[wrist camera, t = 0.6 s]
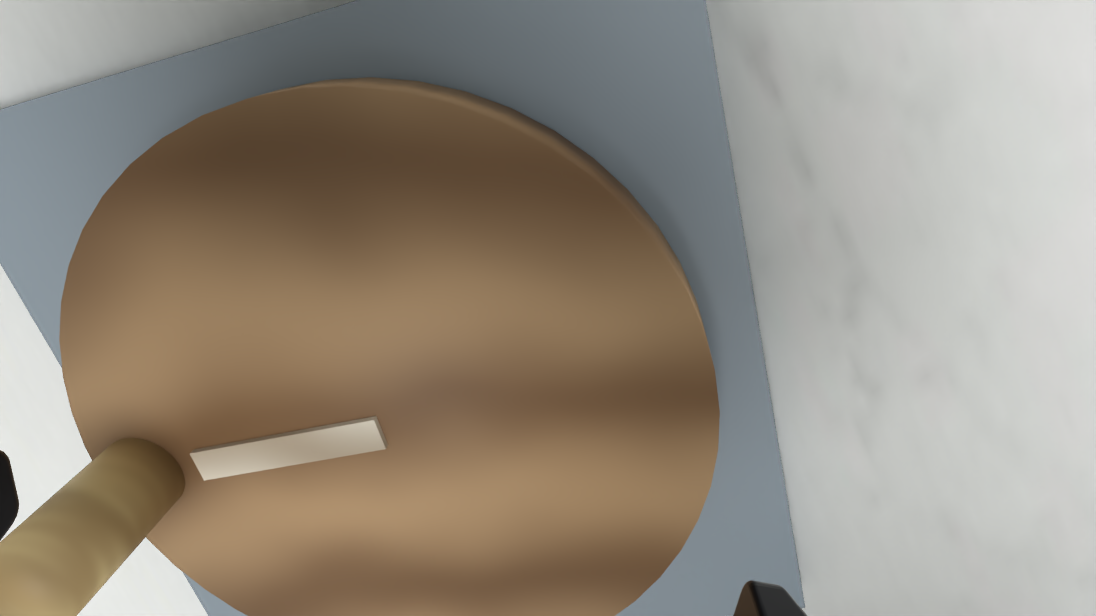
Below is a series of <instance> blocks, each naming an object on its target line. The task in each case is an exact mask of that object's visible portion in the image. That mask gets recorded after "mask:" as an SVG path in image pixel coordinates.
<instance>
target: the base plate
mask: <svg viewBox="0 0 1096 616" xmlns="http://www.w3.org/2000/svg"><path fill="white" fill-rule="evenodd" d="M367 77H375V78H387V79H399V80H412V81H421V82H425V83H430V84H434V85H439V86H443V87H448V88H452V89H457V90H461V91H466V92H469V93H471V94H474V95H477V96H480V97H482V98H485V99H488V100H490V101H493V102H496V103H499V104H501V105H504V106H507V107H510V108H512V109H514V110H516V111H518V112H520V113H522V114H524V115H526V116H527V117H529V118H531V119H533V120H535V121H537V122H539V123H541V124H543V125H545V126H547V127H548V128H550V129H552V130H554V131H556V132H557V133H559V134H560V135H561V136H563V137H564V138H566V139H567V140H569V141H570V142H571V143H573V144H574V145H576V146H577V147H578V148H580V149H581V150H583V151H584V152H586V153H587V154H588V155H590V156H591V157H593V158H594V159H595V160H596V161H597V162H598V163H599V164H601V165H602V166H603V167H604V168H605V169H606V170H607V171H608V172H609V173H610V174H611V175H612V176H614V177H615V178H616V179H617V180H618V181H619V182H620V183H621V184H622V185H623V186H624V187H625V188H627V189H628V190H629V192H630V193H631V194H632V195H633V196H634V198H635V199H636V200H637V201H638V202H639V204H640V205H641V206H642V207H643V209H644V210H645V211H646V212H647V213H648V215H649V216H650V217H651V218H652V219H653V221H654V222H655V223H656V224H657V226H658V227H659V229H660V231H661V232H662V234H663V235H664V237H665V239H666V240H667V242H668V243H669V245H670V247H671V248H672V250H673V251H674V253H675V255H676V256H677V258H678V260H679V261H680V263H681V266H682V268H683V270H684V272H685V275H686V277H687V279H688V282H689V284H690V286H691V288H692V291H693V293H694V295H695V298H696V300H697V304H698V307H699V311H700V315H701V318H702V322H703V326H704V329H705V333H706V336H707V340H708V344H709V349H710V353H711V357H712V361H713V365H714V369H715V375H716V383H717V392H718V401H719V409H720V418H719V443H718V454H717V459H716V463H715V468H714V473H713V478H712V483H711V487H710V490H709V493H708V495H707V498H706V501H705V503H704V506H703V509H702V511H701V514H700V517H699V520H698V521H697V523H696V525H695V527H694V529H693V530H692V532H691V534H690V536H689V537H688V539H687V541H686V543H685V545H684V546H683V548H682V550H681V551H680V553H679V554H678V555H677V556H676V558H675V559H674V560H673V561H672V563H671V564H670V565H669V567H668V568H667V569H666V570H665V572H664V573H663V574H662V576H661V577H660V578H659V579H658V580H657V581H656V582H655V583H654V584H653V585H652V586H651V587H649V588H648V589H647V590H646V591H645V592H644V593H643V594H642V595H641V596H640V597H639V598H638V599H637V600H636V601H635V602H633V603H632V604H631V605H629V606H628V607H626V608H625V609H624V610H622V611H621V612H619V613H618V614H617V615H615V616H733V615H734V612H735V609H736V606H737V603H738V600H739V597H740V594H741V591H742V588H743V586H744V585H745V583H746V582H748V581H751V580H754V581H760V582H766V583H771V584H777V585H780V586H782V587H783V588H784V589H786V591H787V592H788V593H789V594H790V595H791V596H792V598H793V599H794V600H795V601H796V603H797V604H798V605H799V606H800V608H804V607H805V604H804V598H803V592H802V586H801V580H800V574H799V568H798V562H797V555H796V549H795V543H794V537H793V531H792V525H791V519H790V513H789V507H788V501H787V494H786V488H785V482H784V476H783V470H782V464H781V458H780V452H779V446H778V439H777V433H776V427H775V421H774V415H773V409H772V403H771V397H770V391H769V385H768V378H767V372H766V366H765V360H764V354H763V348H762V342H761V336H760V330H759V324H758V317H757V311H756V305H755V299H754V293H753V287H752V281H751V275H750V269H749V263H748V256H747V250H746V244H745V238H744V232H743V226H742V220H741V214H740V208H739V202H738V195H737V189H736V183H735V177H734V171H733V165H732V159H731V153H730V147H729V140H728V134H727V128H726V122H725V116H724V110H723V104H722V98H721V92H720V86H719V79H718V73H717V67H716V61H715V55H714V49H713V43H712V37H711V31H710V25H709V18H708V12H707V6H706V0H357V1H353V2H350V3H347V4H344V5H340V6H337V7H334V8H331V9H327V10H324V11H321V12H317V13H314V14H311V15H308V16H304V17H301V18H298V19H295V20H291V21H288V22H285V23H281V24H278V25H275V26H272V27H268V28H265V29H262V30H259V31H255V32H252V33H249V34H246V35H242V36H239V37H236V38H232V39H229V40H226V41H223V42H219V43H216V44H213V45H210V46H206V47H203V48H200V49H196V50H193V51H190V52H187V53H183V54H180V55H177V56H174V57H170V58H167V59H164V60H160V61H157V62H154V63H151V64H147V65H144V66H141V67H138V68H134V69H131V70H128V71H125V72H121V73H118V74H115V75H111V76H108V77H105V78H102V79H98V80H95V81H92V82H89V83H85V84H82V85H79V86H75V87H72V88H69V89H66V90H62V91H59V92H56V93H53V94H49V95H46V96H43V97H40V98H36V99H33V100H30V101H26V102H23V103H20V104H17V105H13V106H10V107H7V108H4V109H0V264H1V266H2V267H3V269H4V271H5V272H6V274H7V276H8V277H9V279H10V281H11V283H12V284H13V286H14V288H15V289H16V291H17V293H18V294H19V296H20V298H21V299H22V301H23V303H24V305H25V306H26V308H27V310H28V311H29V313H30V315H31V316H32V318H33V320H34V321H35V323H36V325H37V326H38V328H39V330H40V332H41V333H42V335H43V337H44V338H45V340H46V342H47V343H48V345H49V347H50V348H51V350H52V352H53V354H54V355H55V357H56V359H57V360H58V362H59V364H60V365H61V367H62V361H61V352H60V342H59V335H60V312H61V300H62V295H63V290H64V285H65V280H66V275H67V270H68V266H69V263H70V260H71V258H72V255H73V253H74V250H75V247H76V245H77V242H78V240H79V237H80V234H81V232H82V229H83V228H84V226H85V224H86V223H87V221H88V219H89V218H90V216H91V214H92V213H93V211H94V209H95V208H96V206H97V204H98V203H99V201H100V199H101V198H102V196H103V195H104V194H105V192H106V191H107V190H108V189H109V188H110V187H111V185H112V184H113V183H114V182H115V181H116V180H117V179H118V177H119V176H120V175H121V174H122V173H123V172H124V170H125V169H126V168H127V167H128V166H129V165H130V164H131V163H132V162H133V161H135V160H136V159H137V158H138V157H139V156H141V155H142V154H143V153H144V152H146V151H147V150H148V149H149V148H151V147H152V146H153V145H154V144H155V143H157V142H158V141H159V140H160V139H162V138H163V137H165V136H166V135H168V134H170V133H172V132H173V131H175V130H177V129H179V128H180V127H182V126H184V125H186V124H187V123H189V122H191V121H193V120H194V119H196V118H198V117H200V116H202V115H204V114H207V113H210V112H212V111H215V110H218V109H220V108H223V107H226V106H228V105H231V104H234V103H236V102H239V101H242V100H245V99H248V98H251V97H255V96H258V95H262V94H266V93H269V92H273V91H276V90H280V89H284V88H289V87H294V86H298V85H303V84H308V83H313V82H318V81H323V80H332V79H349V78H367ZM182 572H183V571H182ZM183 573H184V572H183ZM184 575H185V577H186V578H187V580H188V582H189V583H190V585H191V587H192V588H193V590H194V592H195V594H196V595H197V597H198V599H199V600H200V602H201V604H202V605H203V607H204V609H205V610H206V612H207V614H208V616H247V615H245V614H244V613H242V612H240V611H238V610H236V609H234V608H233V607H231V606H230V605H228V604H227V603H225V602H224V601H222V600H221V599H219V598H218V597H216V596H215V595H213V594H211V593H210V592H208V591H207V590H205V589H204V588H203V587H201V586H200V585H199V584H198V583H196V582H195V581H194V580H193V579H191V578H190V577H189V576H188V575H186V574H185V573H184Z"/></svg>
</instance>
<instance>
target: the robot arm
mask: <svg viewBox="0 0 1096 616" xmlns="http://www.w3.org/2000/svg"><path fill="white" fill-rule="evenodd" d="M18 509H19V500H18V496H17V491H16V487H15V482H14V478H13V473H12V469H11V464H10V461H9V458H8V456H7V455H6V454H5V453H4V452H3V451H1V450H0V540H1V539H2V538H3V536H4V535H5V534H6V532H7V531H8V530H9V528H10V527H11V525H12V524H13V522H14V520H15V518H16V516H17V513H18ZM733 616H807V615H806V614H805V612H804V611H803V610H802V609H801V608H800V606H799V605H798V604H797V603H796V601H795V600H794V599H793V598H792V596H791V595H790V594H789V593H788V592H787V591H786V589H784V588H783V587H782V586H780V585H777V584H771V583H766V582H760V581H754V580H751V581H748V582H746V583H745V585H744V586H743V588H742V591H741V594H740V597H739V600H738V603H737V606H736V609H735V612H734V615H733Z"/></svg>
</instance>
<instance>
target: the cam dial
mask: <svg viewBox="0 0 1096 616" xmlns="http://www.w3.org/2000/svg"><path fill="white" fill-rule="evenodd" d="M59 342H60V352H61V361H62V371H63V378H64V382H65V386H66V391H67V395H68V399H69V403H70V407H71V411H72V414H73V417H74V419H75V422H76V424H77V427H78V430H79V432H80V435H81V437H82V440H83V443H84V445H85V448H86V450H87V451H88V453H89V455H90V457H91V459H92V462H91V463H89V464H88V465H87V466H86V467H85V468H84V469H83V470H82V471H80V472H79V473H78V474H77V475H76V476H75V477H74V478H72V479H71V480H70V481H69V482H68V483H67V484H66V485H65V486H63V487H62V488H61V489H60V490H59V491H58V492H57V493H55V494H54V495H53V496H52V497H51V498H50V499H49V500H48V501H46V502H45V503H44V504H43V505H42V506H41V507H40V508H38V509H37V510H36V511H35V512H34V513H33V514H32V515H31V516H29V517H28V518H27V519H26V520H25V521H24V522H23V523H21V524H20V525H19V526H18V527H17V528H16V529H15V530H14V531H12V532H11V533H10V534H9V535H8V536H7V537H6V538H4V539H3V540H2V541H1V542H0V616H77V615H78V613H79V612H80V611H81V610H82V609H83V608H84V607H85V605H86V604H87V603H88V602H89V601H90V600H91V599H92V597H93V596H94V595H95V594H96V593H97V592H98V591H99V590H100V588H101V587H102V586H103V585H104V584H105V583H106V582H107V580H108V579H109V578H110V577H111V576H112V575H113V574H114V572H115V571H116V570H117V569H118V568H119V567H120V566H121V564H122V563H123V562H124V561H125V560H126V559H127V558H128V556H129V555H130V554H131V553H132V552H133V551H134V550H135V548H136V547H137V546H138V545H139V544H140V543H141V542H142V540H143V539H144V538H145V537H146V538H147V539H148V540H149V541H150V542H151V543H152V544H153V545H154V546H155V547H156V548H157V549H158V550H159V551H160V552H162V553H163V554H164V555H165V556H166V557H167V558H168V559H169V560H170V561H171V562H172V563H173V564H174V565H175V566H176V567H177V568H179V569H180V570H181V571H183V572H184V573H185V574H186V575H188V576H189V577H190V578H191V579H193V580H194V581H195V582H196V583H198V584H199V585H200V586H201V587H203V588H204V589H205V590H207V591H208V592H210V593H211V594H213V595H215V596H216V597H218V598H219V599H221V600H222V601H224V602H225V603H227V604H228V605H230V606H231V607H233V608H234V609H236V610H238V611H240V612H242V613H244V614H245V615H247V616H615V615H617V614H618V613H619V612H621V611H622V610H624V609H625V608H626V607H628V606H629V605H631V604H632V603H633V602H635V601H636V600H637V599H638V598H639V597H640V596H641V595H642V594H643V593H644V592H645V591H646V590H647V589H648V588H649V587H651V586H652V585H653V584H654V583H655V582H656V581H657V580H658V579H659V578H660V577H661V576H662V574H663V573H664V572H665V570H666V569H667V568H668V567H669V565H670V564H671V563H672V561H673V560H674V559H675V558H676V556H677V555H678V554H679V553H680V551H681V550H682V548H683V546H684V545H685V543H686V541H687V539H688V537H689V536H690V534H691V532H692V530H693V529H694V527H695V525H696V523H697V521H698V520H699V517H700V514H701V511H702V509H703V506H704V503H705V501H706V498H707V495H708V493H709V490H710V487H711V483H712V478H713V473H714V468H715V463H716V459H717V454H718V443H719V418H720V409H719V401H718V392H717V383H716V375H715V369H714V365H713V361H712V357H711V353H710V349H709V344H708V340H707V336H706V333H705V329H704V326H703V322H702V318H701V315H700V311H699V307H698V304H697V300H696V298H695V295H694V293H693V291H692V288H691V286H690V284H689V282H688V279H687V277H686V275H685V272H684V270H683V268H682V266H681V263H680V261H679V260H678V258H677V256H676V255H675V253H674V251H673V250H672V248H671V247H670V245H669V243H668V242H667V240H666V239H665V237H664V235H663V234H662V232H661V231H660V229H659V227H658V226H657V224H656V223H655V222H654V221H653V219H652V218H651V217H650V216H649V215H648V213H647V212H646V211H645V210H644V209H643V207H642V206H641V205H640V204H639V202H638V201H637V200H636V199H635V198H634V196H633V195H632V194H631V193H630V192H629V190H628V189H627V188H625V187H624V186H623V185H622V184H621V183H620V182H619V181H618V180H617V179H616V178H615V177H614V176H612V175H611V174H610V173H609V172H608V171H607V170H606V169H605V168H604V167H603V166H602V165H601V164H599V163H598V162H597V161H596V160H595V159H594V158H593V157H591V156H590V155H588V154H587V153H586V152H584V151H583V150H581V149H580V148H578V147H577V146H576V145H574V144H573V143H571V142H570V141H569V140H567V139H566V138H564V137H563V136H561V135H560V134H559V133H557V132H556V131H554V130H552V129H550V128H548V127H547V126H545V125H543V124H541V123H539V122H537V121H535V120H533V119H531V118H529V117H527V116H526V115H524V114H522V113H520V112H518V111H516V110H514V109H512V108H510V107H507V106H504V105H501V104H499V103H496V102H493V101H490V100H488V99H485V98H482V97H480V96H477V95H474V94H471V93H469V92H466V91H461V90H457V89H452V88H448V87H443V86H439V85H434V84H430V83H425V82H421V81H412V80H399V79H387V78H375V77H367V78H349V79H332V80H323V81H318V82H313V83H308V84H303V85H298V86H294V87H289V88H284V89H280V90H276V91H273V92H269V93H266V94H262V95H258V96H255V97H251V98H248V99H245V100H242V101H239V102H236V103H234V104H231V105H228V106H226V107H223V108H220V109H218V110H215V111H212V112H210V113H207V114H204V115H202V116H200V117H198V118H196V119H194V120H193V121H191V122H189V123H187V124H186V125H184V126H182V127H180V128H179V129H177V130H175V131H173V132H172V133H170V134H168V135H166V136H165V137H163V138H162V139H160V140H159V141H158V142H157V143H155V144H154V145H153V146H152V147H151V148H149V149H148V150H147V151H146V152H144V153H143V154H142V155H141V156H139V157H138V158H137V159H136V160H135V161H133V162H132V163H131V164H130V165H129V166H128V167H127V168H126V169H125V170H124V172H123V173H122V174H121V175H120V176H119V177H118V179H117V180H116V181H115V182H114V183H113V184H112V185H111V187H110V188H109V189H108V190H107V191H106V192H105V194H104V195H103V196H102V198H101V199H100V201H99V203H98V204H97V206H96V208H95V209H94V211H93V213H92V214H91V216H90V218H89V219H88V221H87V223H86V224H85V226H84V228H83V229H82V232H81V234H80V237H79V240H78V242H77V245H76V247H75V250H74V253H73V255H72V258H71V260H70V263H69V266H68V270H67V275H66V280H65V285H64V290H63V295H62V300H61V312H60V335H59Z"/></svg>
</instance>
